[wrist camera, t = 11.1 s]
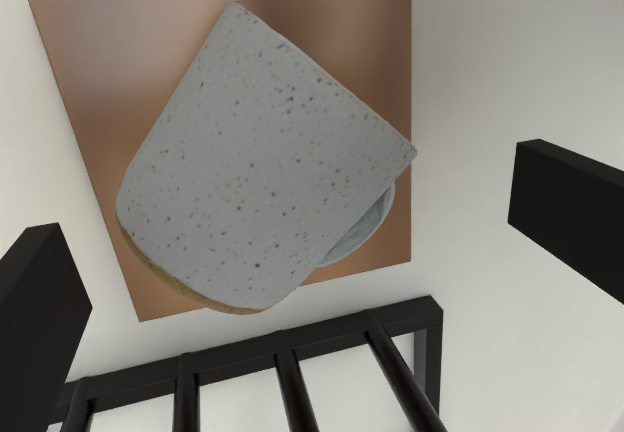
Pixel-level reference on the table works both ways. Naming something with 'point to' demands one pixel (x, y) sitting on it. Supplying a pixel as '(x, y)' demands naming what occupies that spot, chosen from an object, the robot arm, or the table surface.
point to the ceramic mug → (256, 172)
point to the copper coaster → (170, 70)
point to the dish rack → (278, 370)
